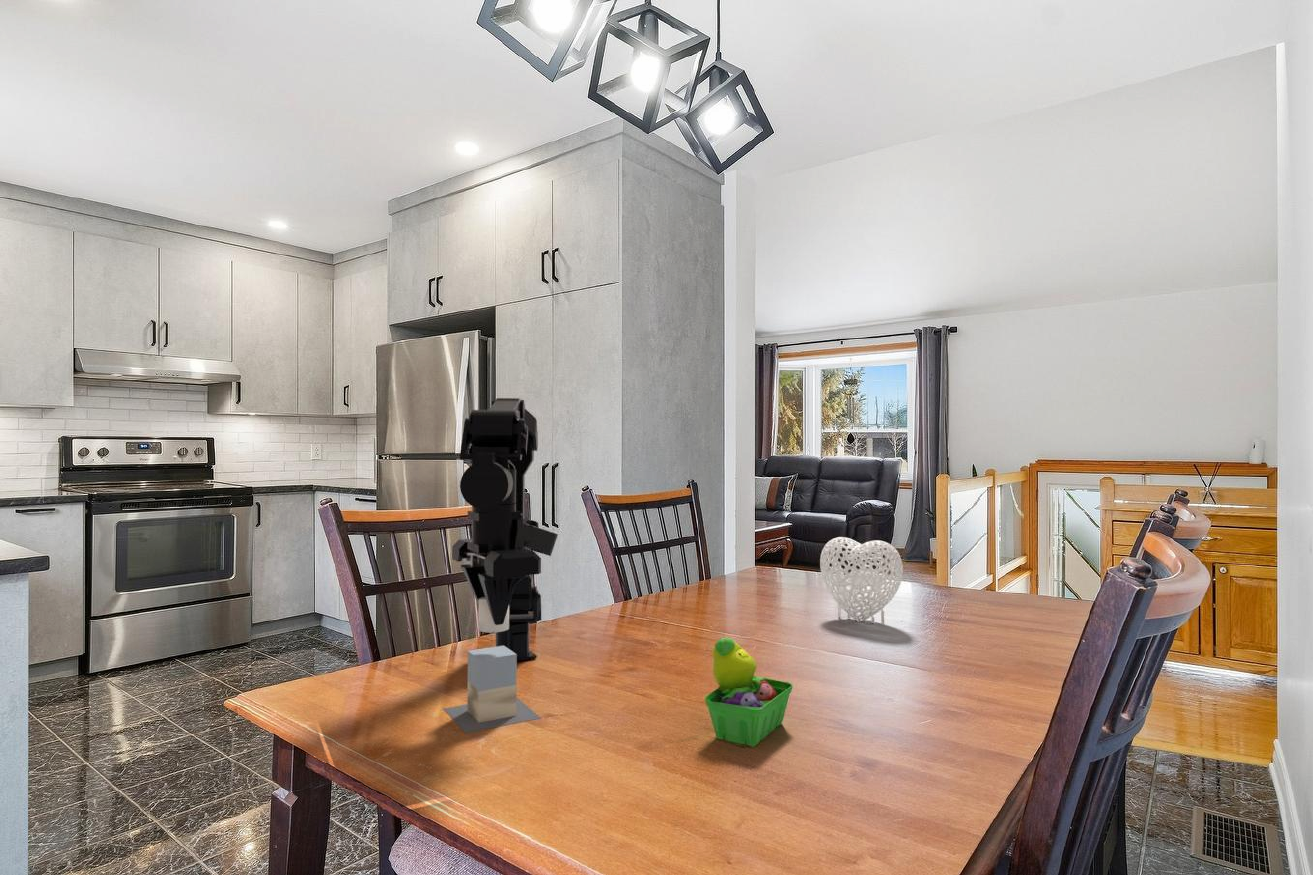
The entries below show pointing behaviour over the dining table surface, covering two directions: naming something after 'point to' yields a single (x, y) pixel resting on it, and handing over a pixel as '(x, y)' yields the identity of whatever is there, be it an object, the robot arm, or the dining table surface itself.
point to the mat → (473, 725)
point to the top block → (492, 668)
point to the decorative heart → (861, 576)
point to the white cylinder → (489, 619)
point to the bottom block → (491, 703)
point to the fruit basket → (744, 697)
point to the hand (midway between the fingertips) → (493, 621)
